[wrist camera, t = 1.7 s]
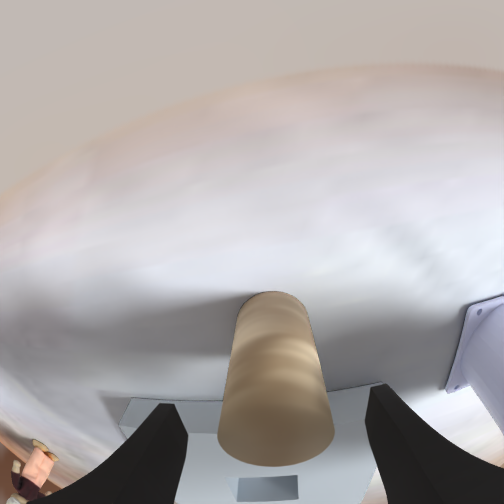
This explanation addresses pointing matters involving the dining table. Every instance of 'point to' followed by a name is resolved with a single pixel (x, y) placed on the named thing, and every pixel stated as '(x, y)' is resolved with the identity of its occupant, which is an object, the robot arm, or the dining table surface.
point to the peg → (274, 386)
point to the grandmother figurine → (32, 475)
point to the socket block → (269, 478)
